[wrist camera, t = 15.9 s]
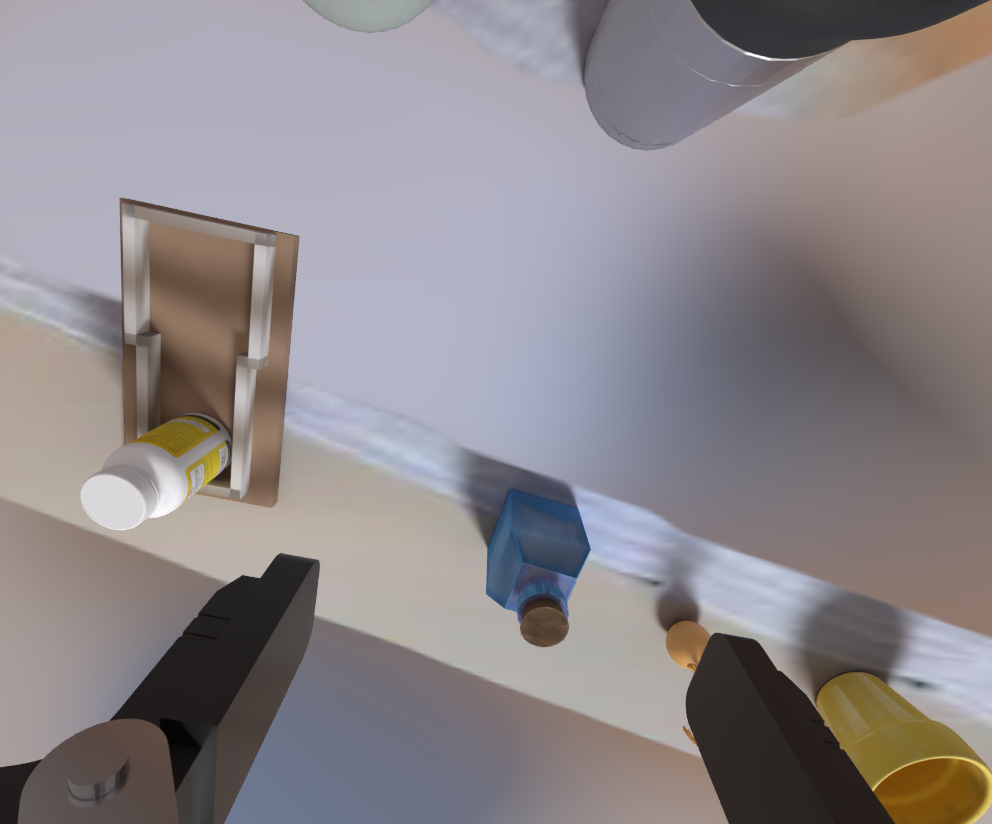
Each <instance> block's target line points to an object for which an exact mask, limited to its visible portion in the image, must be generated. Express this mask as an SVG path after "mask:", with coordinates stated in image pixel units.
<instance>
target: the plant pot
mask: <svg viewBox="0 0 992 824" xmlns="http://www.w3.org/2000/svg"><path fill="white" fill-rule="evenodd" d="M816 705H817V709H818V712H819V714H820V716H821V717H822V718H823V720H824V721H825V722H824V725H825V726H827V727H829V729H830V730H831V731H832V733H833V734H834V736H835V737H836V739H837V740H838V742H839V743H840V748H841V749H844V750H845V752H846V753H847V755H848V756H849V757H850V759H851V760H852V762H853V763H854V765H855V766H856V768H857V769H858V770H859V772H860V773H861V775H862V776H863V778H864V779H865V781H866V782H867V783H868V785H869V786H870V788H871V789H872V791H873V792H874V794H875V795H876V796H877V798H878V799H879V801H880V802H881V804H882V805H883V807H884V808H885V809H886V811H887V812H888V814H889V815H890V817H891V818H892V820H893V821H894V822H895V824H973V823H974V822H975V821H976V820H978V819H979V818H980V817H981V816H982V815H983V814H984V813H985V812H986V811H987V809H988V808H989V807H990V805H991V803H992V772H991V770H990V769H989V768H988V766H987V765H986V764H985V763H984V762H983V761H982V760H981V758H980V757H979V756H978V755H977V754H976V753H975V752H974V751H973V750H972V749H971V748H970V747H969V746H968V745H967V744H966V743H965V741H964V740H963V739H962V738H960V737H959V736H958V735H957V734H956V733H955V732H954V731H953V730H952V729H950V728H949V727H947V726H946V725H944V724H942V723H940V722H937V721H933V720H930V719H929V718H928V717H927V716H925V715H924V714H923V713H922V712H920V711H919V710H918V709H916V708H915V707H914V706H913V705H911V704H910V703H909V702H908V701H906V700H905V699H904V698H903V697H901V696H900V695H899V694H898V693H897V692H895V691H894V690H893V689H892V688H890V687H889V686H888V685H887V684H885V683H884V682H883V681H882V680H880V679H879V678H878V677H876V676H874V675H872V674H869V673H864V672H850V673H845V674H842V675H839V676H837V677H835V678H833V679H831V680H830V681H829V682H827V683H826V684H825V685H824V686H823V687H822V688H821V690H820V692H819V693H818V696H817V701H816Z"/></svg>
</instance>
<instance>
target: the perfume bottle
mask: <svg viewBox="0 0 992 824" xmlns="http://www.w3.org/2000/svg"><path fill="white" fill-rule="evenodd" d="M590 550H591V549H590V545H589V542H588V539H587V536H586V532H585V529H584V526H583V523H582V520H581V516H580V513H579V510H578V508H575V507H571V506H568V505H565V504H561V503H558V502H554V501H551V500H548V499H544V498H541V497H538V496H534V495H531V494H527V493H524V492H521V491H517V490H514V489H511V488H510V489H509V492H508V495H507V497H506V500H505V503H504V505H503V508H502V511H501V514H500V516H499V519H498V522H497V524H496V527H495V530H494V532H493V535H492V538H491V541H490V543H489V546H488V552H487V583H486V594H487V595H488V596H489V597H491V598H492V599H493V600H494V601H496V602H497V603H498V604H499V605H501V606H502V607H503V608H505V609H508V610H512V611H515V612H517V617H518V621H519V623H520V631H521V634H522V636H523V638H524V639H525V640H526V641H527V642H528V643H530V644H532V645H534V646H538V647H550V646H553V645H556V644H558V643H559V642H561V641H562V640H563V639H564V638H565V637H566V635H567V634H568V630H569V624H568V620H567V619H568V615H569V613H568V606H567V602H568V600H569V597H570V595H571V593H572V591H573V588H574V586H575V584H576V582H577V579H578V577H579V575H580V573H581V570H582V568H583V566H584V564H585V561H586V559H587V557H588V555H589V552H590Z"/></svg>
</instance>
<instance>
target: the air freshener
mask: <svg viewBox="0 0 992 824" xmlns="http://www.w3.org/2000/svg"><path fill="white" fill-rule="evenodd" d="M303 1H304V2H305V3H306V4H307V5H308V6H309V7H310V8H312V9H313V10H314V11H315V12H317V13H318V14H319V15H321V16H322V17H323V18H325V19H327V20H329V21H331V22H332V23H334V24H336V25H338V26H341V27H344V28H347V29H350V30H353V31H359V32H368V33H372V32H384V31H387V30H391V29H395V28H398V27H400V26H402V25H404V24H406V23H408V22H410V21H412V20H413V19H414V18H416V16H418V15H420V14H421V13H422V12H423V11H424V10H425V9H426V8H427V7H428V6H429V5H430V4H431V2H432V1H433V0H303Z"/></svg>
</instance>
